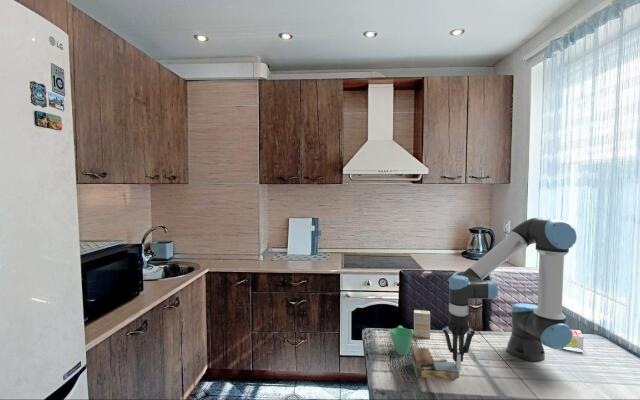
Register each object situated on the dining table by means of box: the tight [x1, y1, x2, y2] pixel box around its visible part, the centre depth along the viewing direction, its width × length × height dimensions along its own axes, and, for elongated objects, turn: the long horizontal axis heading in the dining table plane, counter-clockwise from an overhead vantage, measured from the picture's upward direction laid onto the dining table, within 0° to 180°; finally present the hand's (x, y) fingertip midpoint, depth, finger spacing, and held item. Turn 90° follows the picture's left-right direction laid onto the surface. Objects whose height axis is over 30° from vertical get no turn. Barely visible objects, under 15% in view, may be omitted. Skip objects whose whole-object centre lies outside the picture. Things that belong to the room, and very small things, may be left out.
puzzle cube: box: [566, 328, 585, 351], centre depth 161 cm, size 8×8×8 cm
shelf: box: [411, 347, 455, 382], centre depth 140 cm, size 15×13×7 cm
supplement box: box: [413, 309, 431, 339], centre depth 174 cm, size 8×5×13 cm, turn 71°
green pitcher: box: [391, 325, 414, 356], centre depth 159 cm, size 15×10×10 cm
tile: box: [431, 361, 460, 379], centre depth 139 cm, size 9×7×3 cm
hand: (457, 368), depth 139 cm, fingers closed
